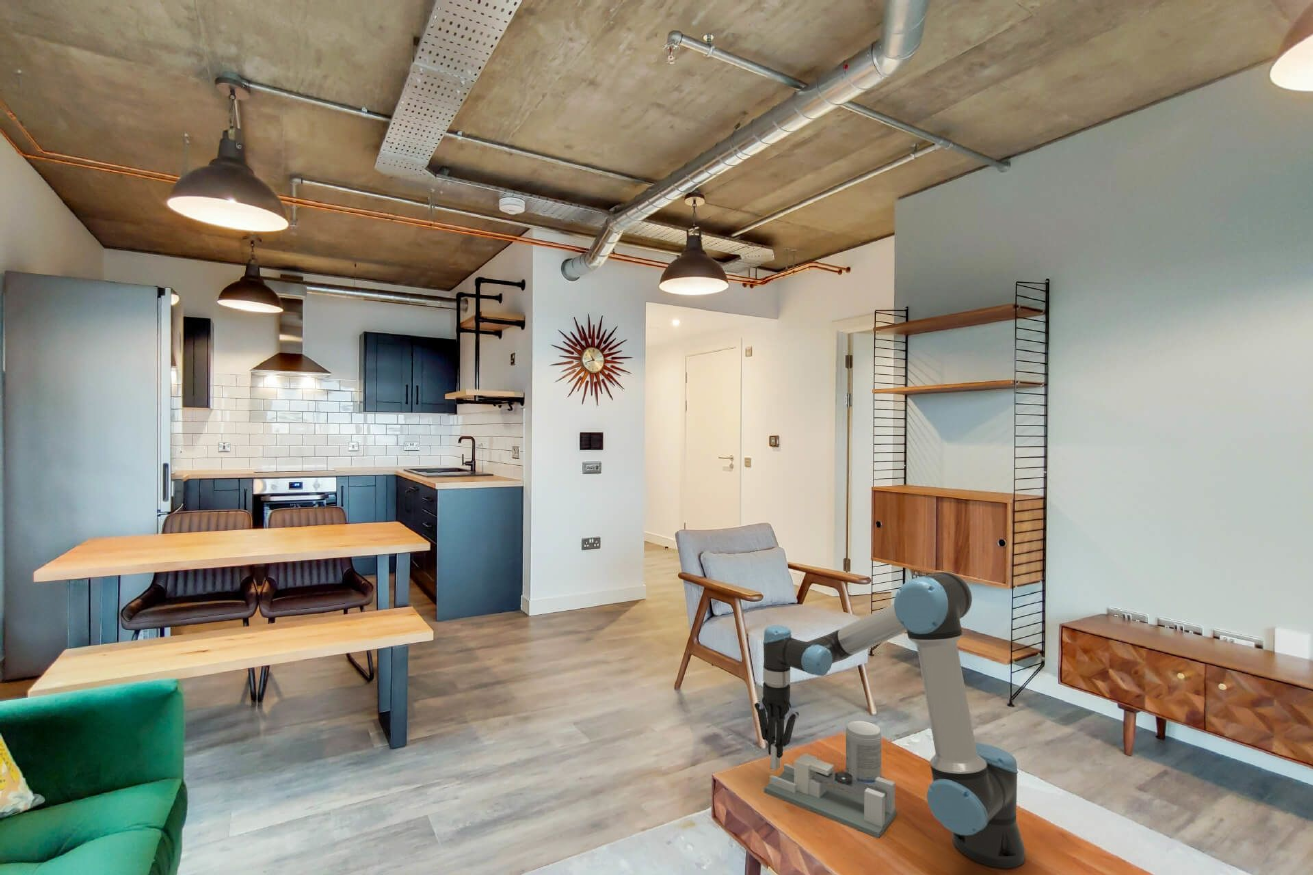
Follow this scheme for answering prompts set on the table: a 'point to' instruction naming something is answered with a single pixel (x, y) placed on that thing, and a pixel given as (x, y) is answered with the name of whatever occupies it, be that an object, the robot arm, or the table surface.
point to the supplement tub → (863, 751)
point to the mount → (840, 801)
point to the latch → (808, 771)
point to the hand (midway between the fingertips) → (775, 767)
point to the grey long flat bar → (846, 782)
